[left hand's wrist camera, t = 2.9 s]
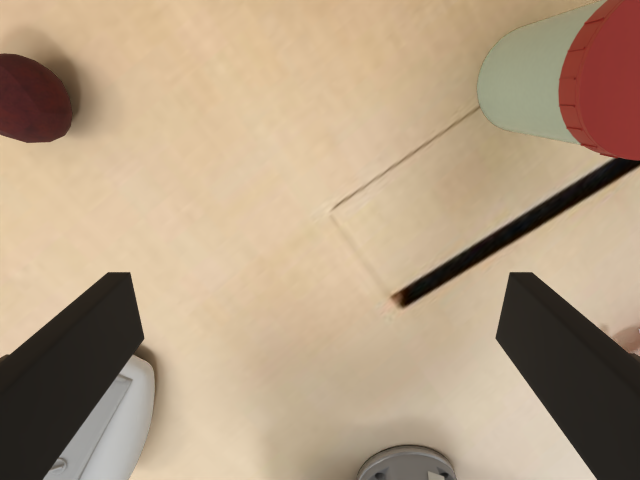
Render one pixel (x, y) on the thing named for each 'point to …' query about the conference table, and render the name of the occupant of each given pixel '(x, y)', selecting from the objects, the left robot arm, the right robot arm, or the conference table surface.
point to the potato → (32, 101)
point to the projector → (112, 429)
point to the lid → (605, 81)
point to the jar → (530, 75)
